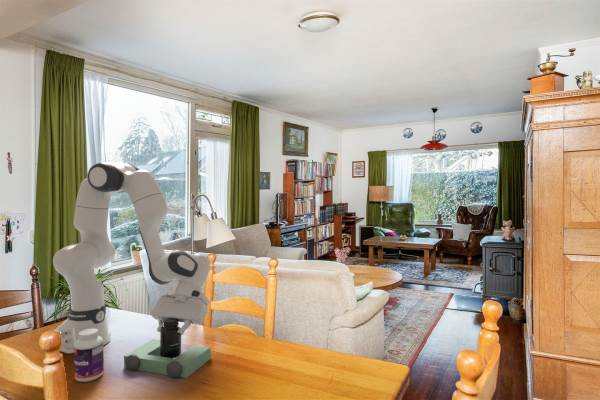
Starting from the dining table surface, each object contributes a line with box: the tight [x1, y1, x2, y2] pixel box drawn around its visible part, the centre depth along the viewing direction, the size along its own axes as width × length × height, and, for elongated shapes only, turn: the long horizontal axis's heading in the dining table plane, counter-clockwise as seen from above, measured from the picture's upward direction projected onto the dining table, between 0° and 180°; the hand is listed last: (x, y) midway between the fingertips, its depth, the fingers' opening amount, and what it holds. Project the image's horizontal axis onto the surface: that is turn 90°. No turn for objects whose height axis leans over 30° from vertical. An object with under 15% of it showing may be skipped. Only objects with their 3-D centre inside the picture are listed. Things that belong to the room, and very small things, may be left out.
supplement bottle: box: [159, 318, 182, 359], centre depth 129 cm, size 7×7×12 cm
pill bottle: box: [73, 329, 105, 383], centre depth 119 cm, size 8×8×14 cm
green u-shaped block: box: [123, 338, 212, 379], centre depth 127 cm, size 24×15×5 cm, turn 71°
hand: (169, 332), depth 128 cm, fingers closed on supplement bottle, 7 cm apart
